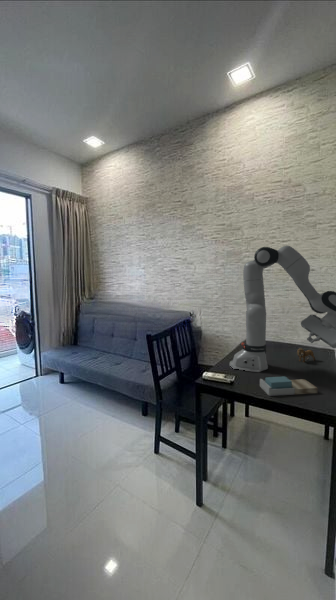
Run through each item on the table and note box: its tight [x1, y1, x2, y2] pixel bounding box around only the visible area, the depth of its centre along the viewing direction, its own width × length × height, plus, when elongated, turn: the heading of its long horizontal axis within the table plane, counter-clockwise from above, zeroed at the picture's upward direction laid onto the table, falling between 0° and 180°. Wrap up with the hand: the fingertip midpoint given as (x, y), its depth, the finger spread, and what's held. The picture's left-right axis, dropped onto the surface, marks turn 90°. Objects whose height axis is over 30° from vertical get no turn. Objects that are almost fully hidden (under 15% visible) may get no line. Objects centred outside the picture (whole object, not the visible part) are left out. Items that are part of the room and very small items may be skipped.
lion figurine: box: [296, 347, 316, 363], centre depth 161 cm, size 15×5×9 cm, turn 116°
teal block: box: [264, 375, 292, 389], centre depth 122 cm, size 5×6×10 cm
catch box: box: [259, 378, 296, 397], centre depth 122 cm, size 12×10×4 cm
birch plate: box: [290, 378, 318, 395], centre depth 123 cm, size 11×10×2 cm
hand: (309, 341), depth 129 cm, fingers closed
